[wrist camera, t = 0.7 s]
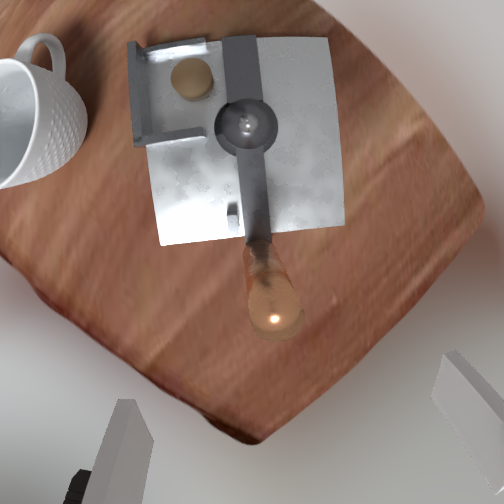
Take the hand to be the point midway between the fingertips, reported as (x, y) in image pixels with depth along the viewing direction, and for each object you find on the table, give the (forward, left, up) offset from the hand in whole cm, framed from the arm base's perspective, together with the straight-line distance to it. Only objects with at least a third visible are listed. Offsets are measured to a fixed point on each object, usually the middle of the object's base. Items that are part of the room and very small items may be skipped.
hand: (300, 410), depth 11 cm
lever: (-9, 0, -21) cm, 23 cm away
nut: (-17, -4, -22) cm, 28 cm away
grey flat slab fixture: (-12, 0, -24) cm, 27 cm away
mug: (-17, -20, -24) cm, 36 cm away
